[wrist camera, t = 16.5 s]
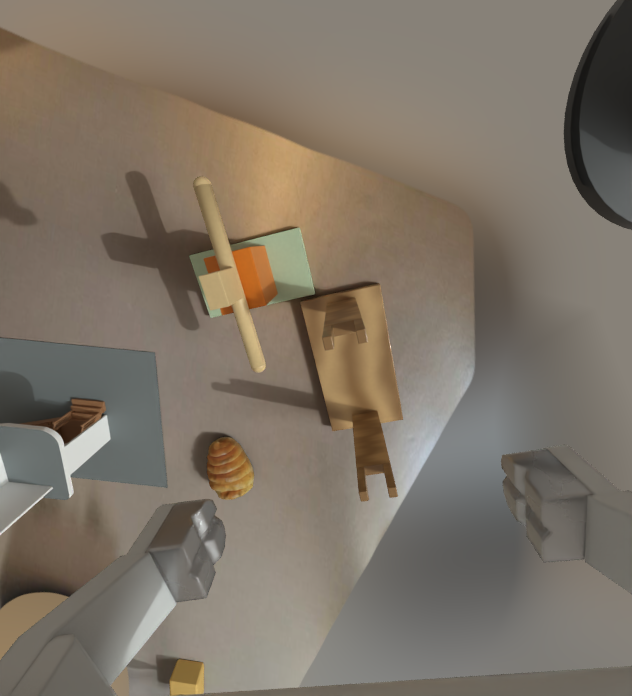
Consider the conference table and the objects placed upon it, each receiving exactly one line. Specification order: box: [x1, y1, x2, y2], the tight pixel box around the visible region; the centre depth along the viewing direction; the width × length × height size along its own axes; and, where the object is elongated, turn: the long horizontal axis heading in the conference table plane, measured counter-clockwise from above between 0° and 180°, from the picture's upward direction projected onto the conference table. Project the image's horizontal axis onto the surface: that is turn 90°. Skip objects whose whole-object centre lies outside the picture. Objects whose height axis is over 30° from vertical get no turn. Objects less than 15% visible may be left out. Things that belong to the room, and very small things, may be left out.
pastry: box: [207, 437, 254, 500], centre depth 48 cm, size 9×7×4 cm
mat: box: [189, 228, 315, 318], centre depth 40 cm, size 14×8×1 cm, turn 103°
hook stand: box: [300, 283, 403, 501], centre depth 36 cm, size 10×19×16 cm, turn 13°
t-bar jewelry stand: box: [193, 176, 278, 372], centre depth 33 cm, size 5×20×13 cm, turn 13°
